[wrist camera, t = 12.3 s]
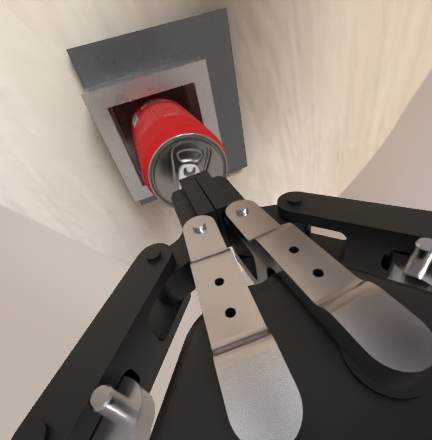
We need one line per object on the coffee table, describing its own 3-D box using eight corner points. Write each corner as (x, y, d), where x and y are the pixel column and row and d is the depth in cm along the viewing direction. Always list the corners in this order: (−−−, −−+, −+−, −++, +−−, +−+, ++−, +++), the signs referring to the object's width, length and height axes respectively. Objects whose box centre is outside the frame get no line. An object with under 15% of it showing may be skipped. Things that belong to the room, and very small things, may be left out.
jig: (221, 9, 20) (244, 2, 17) (243, 163, 29) (261, 179, 26) (68, 49, 19) (59, 51, 15) (140, 200, 27) (145, 223, 24)
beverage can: (186, 95, 23) (238, 130, 14) (183, 149, 26) (225, 209, 17) (127, 90, 21) (141, 126, 12) (131, 149, 24) (145, 216, 15)
